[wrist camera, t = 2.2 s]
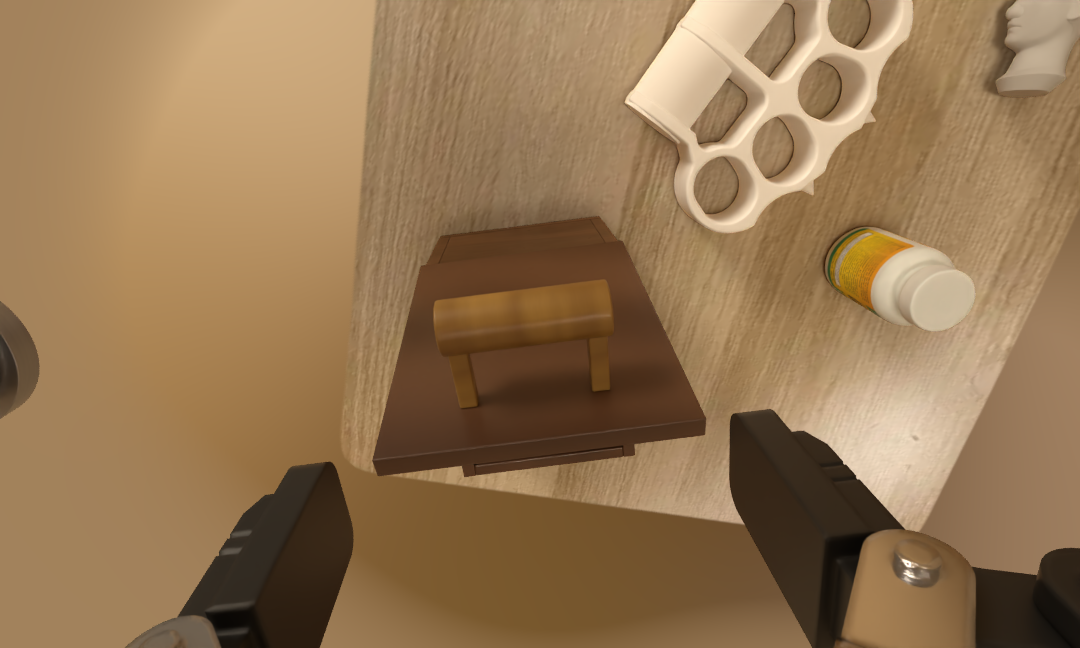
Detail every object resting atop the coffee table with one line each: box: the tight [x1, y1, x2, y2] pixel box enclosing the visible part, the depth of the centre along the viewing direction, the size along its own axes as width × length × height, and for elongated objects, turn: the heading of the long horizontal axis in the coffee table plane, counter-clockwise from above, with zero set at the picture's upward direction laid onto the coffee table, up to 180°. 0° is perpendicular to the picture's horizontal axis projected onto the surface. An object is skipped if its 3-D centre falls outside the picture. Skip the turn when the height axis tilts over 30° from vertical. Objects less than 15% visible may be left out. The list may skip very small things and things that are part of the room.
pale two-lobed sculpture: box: [995, 0, 1080, 98], centre depth 37 cm, size 4×8×5 cm
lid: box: [372, 241, 706, 476], centre depth 26 cm, size 16×12×5 cm
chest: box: [426, 216, 635, 477], centre depth 41 cm, size 15×12×9 cm
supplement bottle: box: [825, 227, 976, 332], centre depth 40 cm, size 5×5×10 cm
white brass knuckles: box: [625, 0, 913, 233], centre depth 38 cm, size 3×18×15 cm
